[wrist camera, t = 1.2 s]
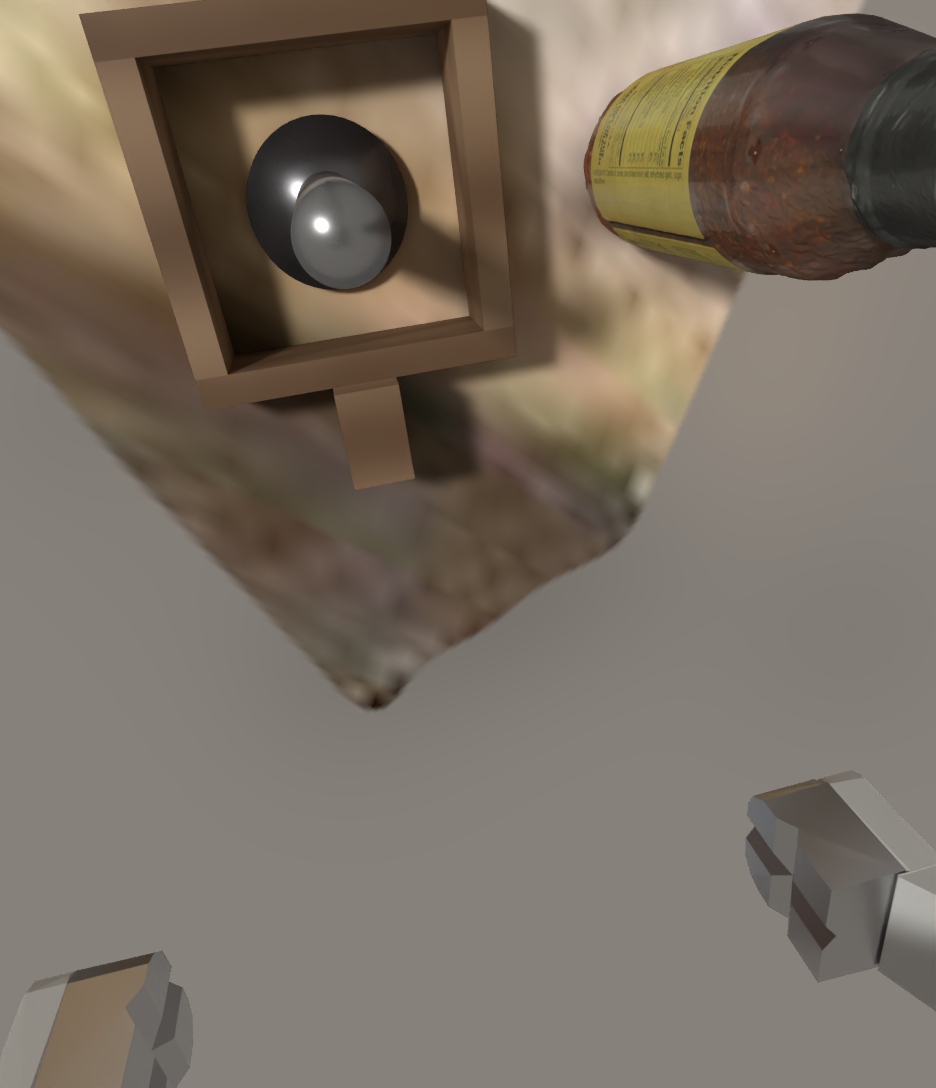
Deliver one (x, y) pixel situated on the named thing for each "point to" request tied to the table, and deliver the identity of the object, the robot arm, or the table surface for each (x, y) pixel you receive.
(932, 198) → the sauce bottle
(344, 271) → the grey plunger shape
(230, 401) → the wooden frame with handle
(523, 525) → the table surface
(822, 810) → the robot arm
